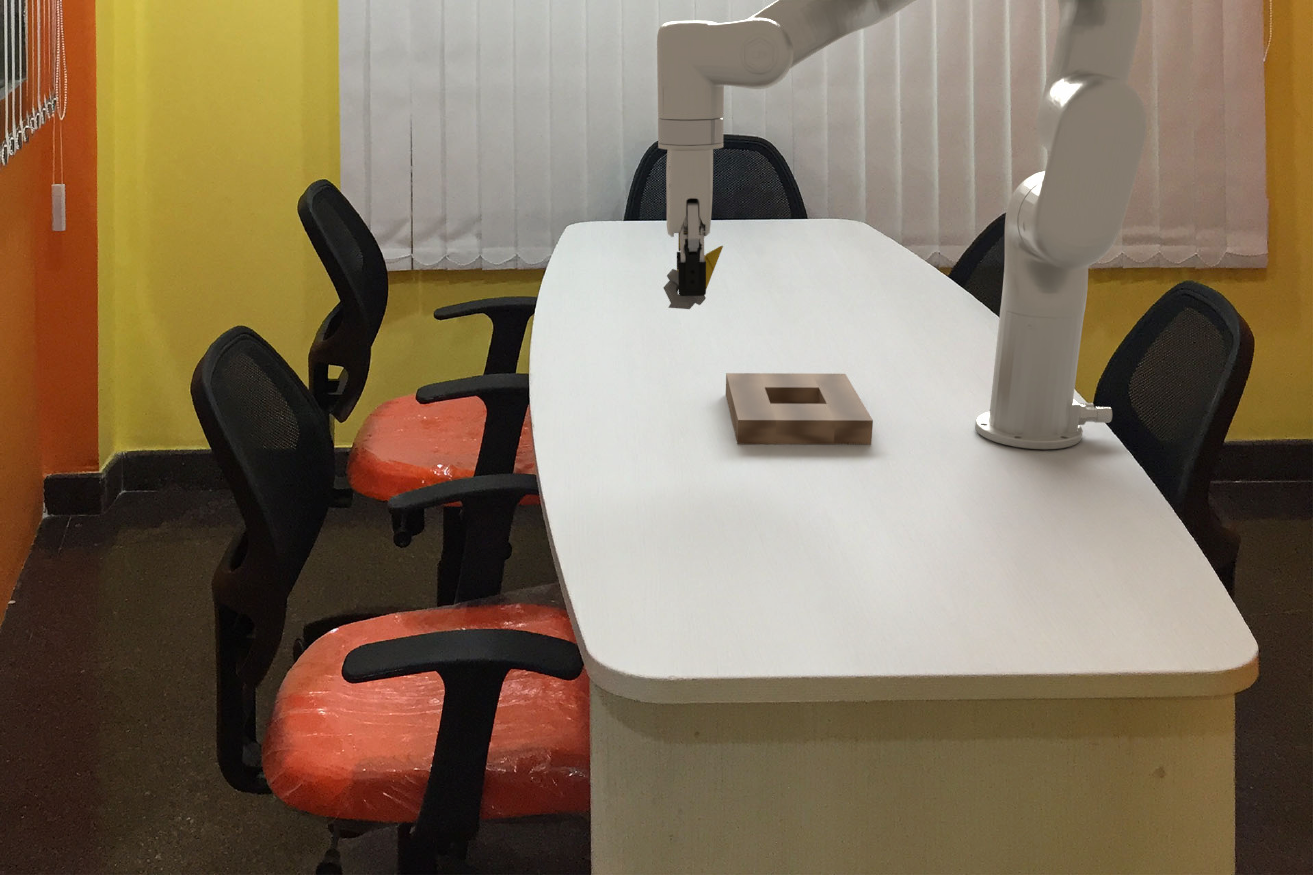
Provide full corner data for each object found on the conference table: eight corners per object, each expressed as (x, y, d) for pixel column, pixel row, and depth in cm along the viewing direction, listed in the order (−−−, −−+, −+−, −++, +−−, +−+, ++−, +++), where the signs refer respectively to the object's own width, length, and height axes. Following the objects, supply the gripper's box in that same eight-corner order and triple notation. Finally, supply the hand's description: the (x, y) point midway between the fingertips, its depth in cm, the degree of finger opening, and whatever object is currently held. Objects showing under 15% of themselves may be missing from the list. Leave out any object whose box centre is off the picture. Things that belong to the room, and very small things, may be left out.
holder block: (843, 395, 162) (845, 373, 161) (871, 444, 143) (873, 420, 142) (725, 394, 162) (726, 373, 161) (737, 443, 143) (738, 420, 142)
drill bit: (658, 305, 147) (712, 244, 148) (689, 328, 145) (743, 267, 145) (646, 286, 142) (701, 223, 143) (678, 310, 140) (733, 246, 141)
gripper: (656, 128, 146) (658, 276, 152) (659, 142, 130) (661, 306, 136) (718, 128, 146) (717, 275, 152) (728, 141, 130) (727, 305, 136)
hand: (691, 288), depth 144 cm, fingers closed on drill bit, 5 cm apart
